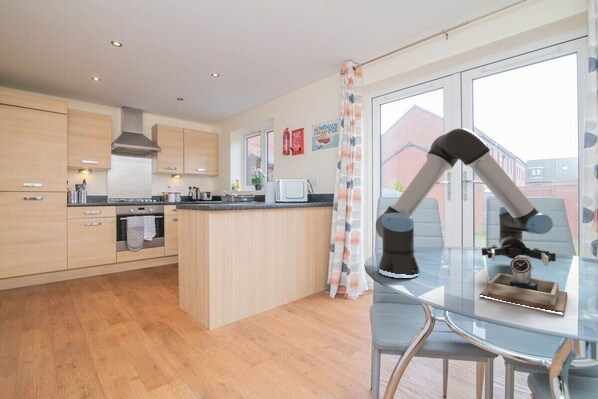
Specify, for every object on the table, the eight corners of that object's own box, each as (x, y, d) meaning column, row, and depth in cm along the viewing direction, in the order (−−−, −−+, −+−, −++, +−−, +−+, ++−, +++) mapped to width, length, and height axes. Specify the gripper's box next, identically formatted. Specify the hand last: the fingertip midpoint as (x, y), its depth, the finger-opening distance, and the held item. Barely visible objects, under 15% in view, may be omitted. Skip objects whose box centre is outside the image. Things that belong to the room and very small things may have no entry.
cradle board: (479, 297, 82) (479, 283, 82) (494, 282, 95) (493, 270, 95) (563, 315, 69) (563, 299, 69) (567, 296, 82) (567, 282, 82)
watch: (508, 293, 82) (507, 256, 81) (515, 287, 87) (515, 252, 86) (532, 298, 77) (531, 259, 77) (539, 291, 82) (538, 255, 82)
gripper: (556, 260, 101) (572, 275, 83) (475, 253, 115) (473, 265, 97) (556, 240, 101) (571, 251, 83) (474, 235, 114) (473, 244, 97)
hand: (519, 259), depth 90 cm, fingers open, 13 cm apart
